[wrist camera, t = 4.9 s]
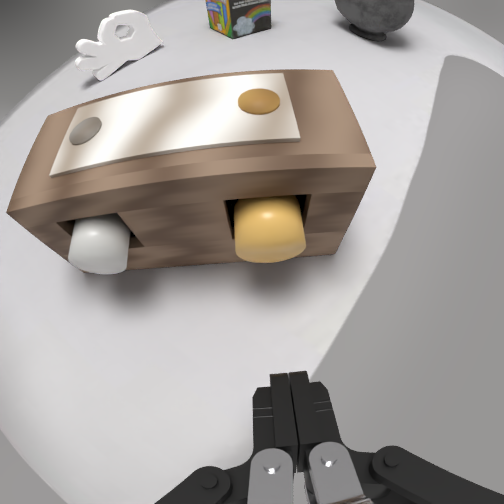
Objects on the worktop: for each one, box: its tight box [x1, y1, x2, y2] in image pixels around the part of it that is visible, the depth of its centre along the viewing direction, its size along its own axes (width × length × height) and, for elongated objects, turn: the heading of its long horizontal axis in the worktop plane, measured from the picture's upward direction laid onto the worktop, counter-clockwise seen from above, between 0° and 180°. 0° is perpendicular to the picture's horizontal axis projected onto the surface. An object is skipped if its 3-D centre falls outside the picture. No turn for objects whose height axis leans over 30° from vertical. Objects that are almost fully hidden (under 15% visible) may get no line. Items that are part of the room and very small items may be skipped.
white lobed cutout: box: [75, 10, 163, 81], centre depth 38 cm, size 3×15×11 cm, turn 131°
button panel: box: [6, 70, 376, 273], centre depth 22 cm, size 24×10×12 cm, turn 94°
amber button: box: [234, 195, 306, 263], centre depth 19 cm, size 4×3×4 cm
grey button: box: [68, 213, 131, 274], centre depth 19 cm, size 4×3×4 cm
